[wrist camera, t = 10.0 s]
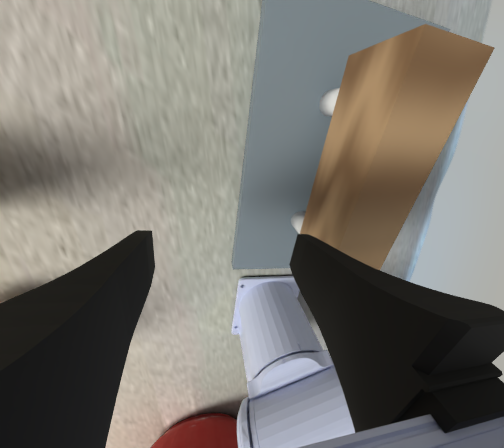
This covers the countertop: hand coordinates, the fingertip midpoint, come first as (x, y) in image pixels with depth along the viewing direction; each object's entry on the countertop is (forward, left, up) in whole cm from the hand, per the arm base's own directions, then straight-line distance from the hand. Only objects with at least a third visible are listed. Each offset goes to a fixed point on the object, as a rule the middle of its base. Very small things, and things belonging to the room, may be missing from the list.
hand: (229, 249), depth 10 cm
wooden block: (+3, -9, -6) cm, 11 cm away
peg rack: (+3, -9, -9) cm, 13 cm away
